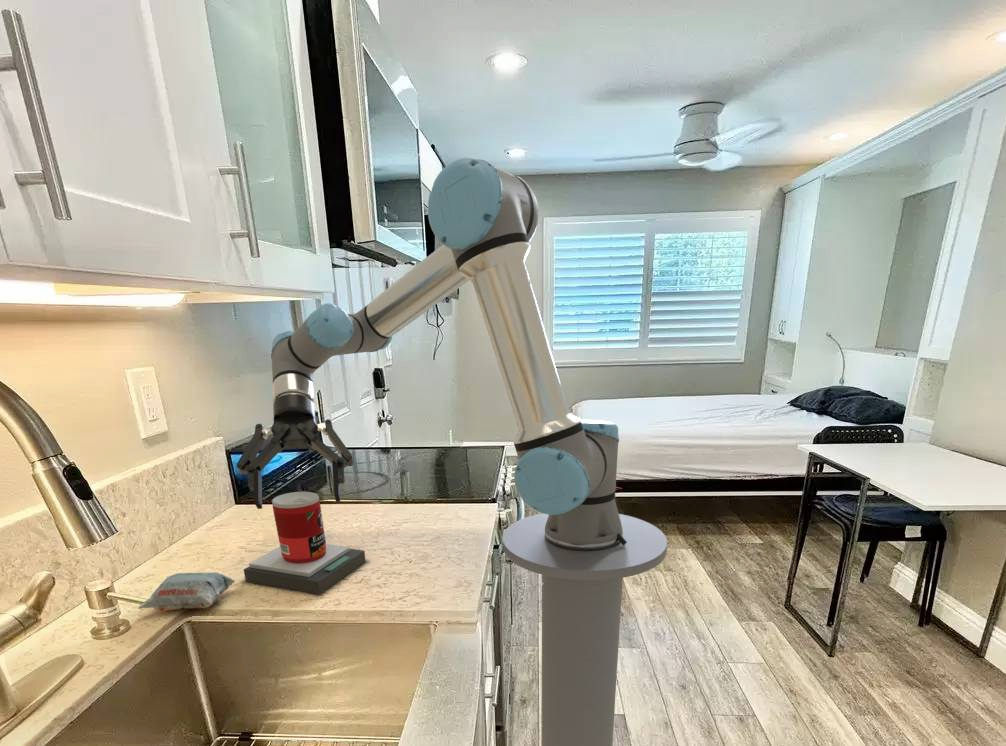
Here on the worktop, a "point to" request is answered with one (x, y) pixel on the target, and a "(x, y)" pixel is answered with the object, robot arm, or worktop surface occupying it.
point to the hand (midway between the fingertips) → (298, 502)
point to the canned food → (299, 526)
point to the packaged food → (188, 591)
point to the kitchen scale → (305, 569)
